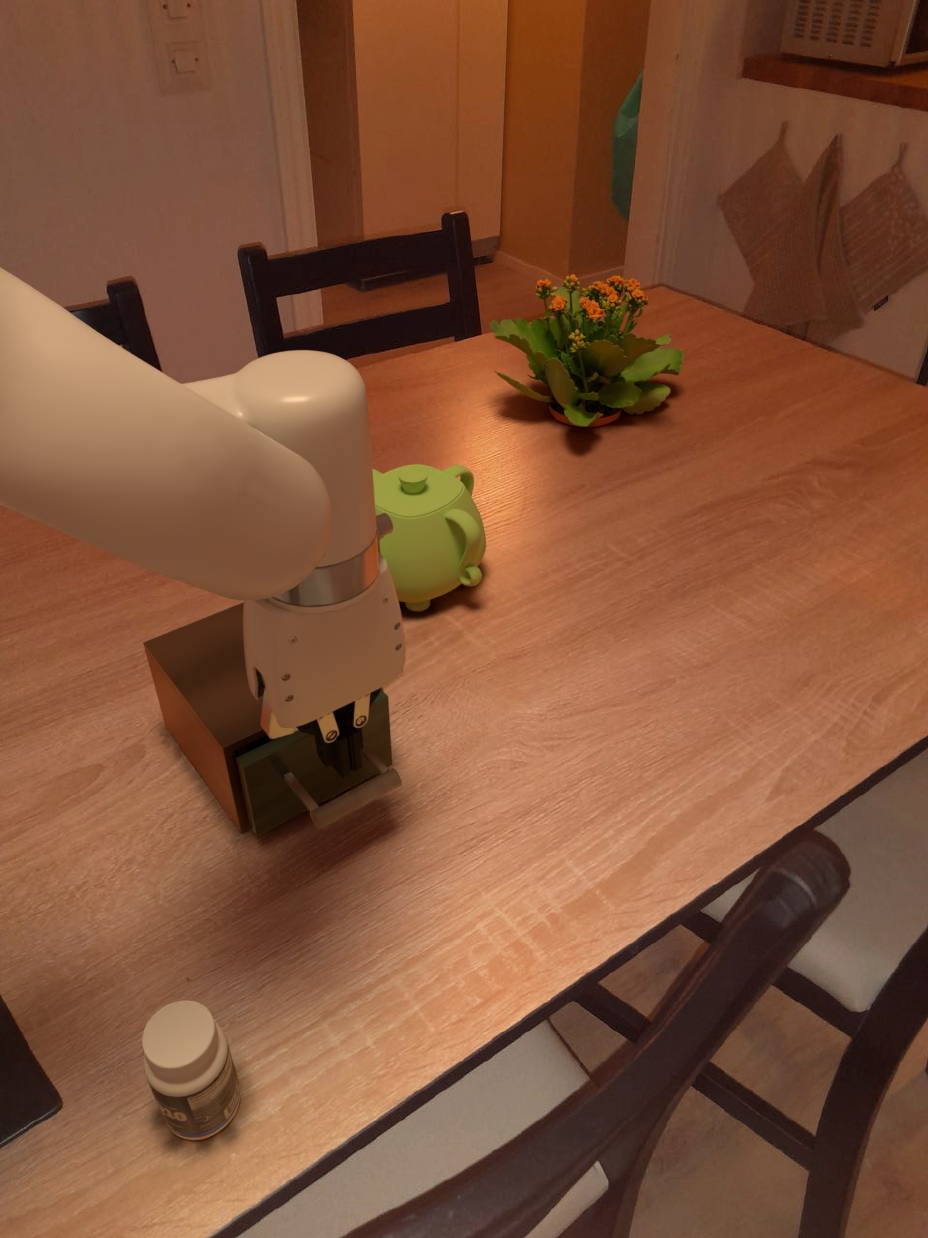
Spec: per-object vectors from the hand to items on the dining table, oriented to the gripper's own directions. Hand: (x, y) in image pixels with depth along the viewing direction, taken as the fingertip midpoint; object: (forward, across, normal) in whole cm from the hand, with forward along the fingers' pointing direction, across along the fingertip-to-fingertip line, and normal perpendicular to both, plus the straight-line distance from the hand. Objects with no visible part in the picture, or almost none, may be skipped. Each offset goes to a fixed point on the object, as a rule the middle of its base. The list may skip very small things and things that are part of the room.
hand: (341, 761), depth 71 cm
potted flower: (+8, -62, -42) cm, 75 cm away
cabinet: (+8, 0, -12) cm, 14 cm away
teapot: (+8, -22, -24) cm, 33 cm away
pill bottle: (+8, +18, +13) cm, 24 cm away
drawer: (+7, 0, -7) cm, 10 cm away
